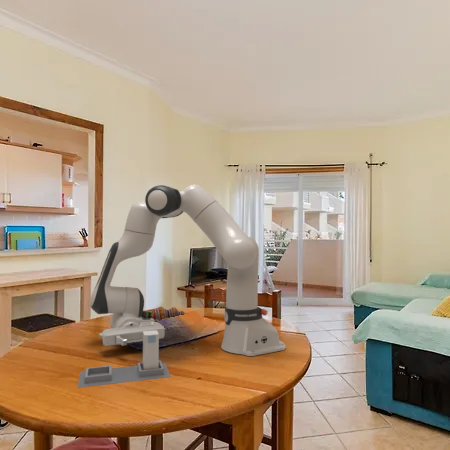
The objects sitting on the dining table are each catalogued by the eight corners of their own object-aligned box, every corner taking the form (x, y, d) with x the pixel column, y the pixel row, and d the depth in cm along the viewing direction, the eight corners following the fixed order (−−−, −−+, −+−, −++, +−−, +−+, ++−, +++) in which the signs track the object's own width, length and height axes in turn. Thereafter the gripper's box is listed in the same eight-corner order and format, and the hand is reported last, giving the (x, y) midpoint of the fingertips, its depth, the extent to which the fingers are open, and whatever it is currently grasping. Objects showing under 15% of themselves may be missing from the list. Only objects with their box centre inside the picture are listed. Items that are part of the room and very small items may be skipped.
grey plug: (156, 368, 107) (157, 330, 107) (158, 374, 102) (159, 334, 102) (142, 369, 105) (143, 331, 106) (144, 375, 101) (144, 335, 101)
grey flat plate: (165, 364, 111) (165, 357, 111) (171, 378, 100) (171, 370, 100) (80, 373, 103) (80, 365, 103) (77, 390, 93) (77, 381, 93)
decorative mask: (125, 303, 167) (189, 300, 177) (124, 319, 167) (188, 315, 176) (127, 314, 145) (200, 311, 154) (127, 333, 145) (200, 328, 154)
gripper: (98, 324, 122) (105, 334, 110) (157, 317, 132) (170, 326, 119) (97, 343, 122) (105, 355, 110) (157, 335, 132) (170, 346, 119)
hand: (139, 340), depth 115 cm, fingers open, 8 cm apart
